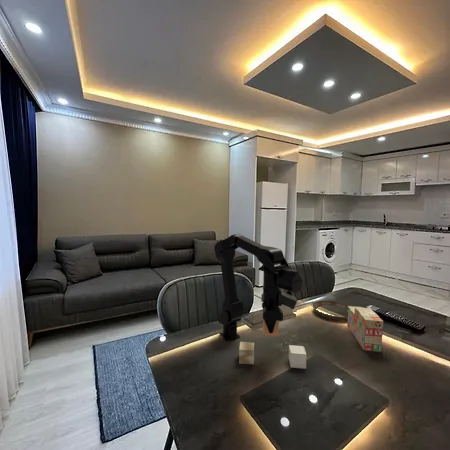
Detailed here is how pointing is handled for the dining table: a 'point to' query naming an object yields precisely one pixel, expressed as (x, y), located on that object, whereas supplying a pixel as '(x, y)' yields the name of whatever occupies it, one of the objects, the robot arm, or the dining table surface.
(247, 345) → the birch cube
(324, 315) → the plant saucer
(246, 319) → the dining table surface
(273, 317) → the robot arm
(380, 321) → the stack of blocks
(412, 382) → the dining table surface
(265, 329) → the terracotta cube
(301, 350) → the off-white cube
